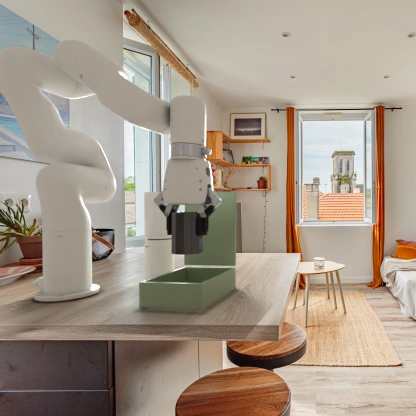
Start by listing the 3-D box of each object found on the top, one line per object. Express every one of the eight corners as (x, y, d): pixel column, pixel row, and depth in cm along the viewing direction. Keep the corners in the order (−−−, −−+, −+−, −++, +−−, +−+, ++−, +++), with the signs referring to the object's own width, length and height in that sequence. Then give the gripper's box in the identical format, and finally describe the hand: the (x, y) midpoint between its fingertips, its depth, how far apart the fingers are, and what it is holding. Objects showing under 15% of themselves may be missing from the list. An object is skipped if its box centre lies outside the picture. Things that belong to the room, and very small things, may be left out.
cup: (165, 254, 70) (165, 212, 70) (181, 250, 76) (181, 211, 76) (193, 255, 69) (193, 212, 69) (207, 251, 75) (207, 212, 75)
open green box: (202, 313, 64) (201, 284, 64) (139, 310, 66) (139, 282, 66) (235, 290, 82) (235, 267, 82) (185, 288, 84) (184, 266, 84)
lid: (235, 192, 82) (236, 192, 82) (184, 192, 84) (186, 193, 84) (234, 265, 81) (236, 265, 82) (184, 264, 83) (185, 264, 84)
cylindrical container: (162, 288, 84) (162, 191, 84) (138, 287, 85) (138, 192, 85) (179, 282, 91) (178, 193, 91) (156, 281, 92) (156, 193, 92)
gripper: (231, 156, 75) (231, 234, 75) (162, 157, 77) (161, 232, 77) (217, 151, 67) (216, 237, 67) (141, 152, 70) (140, 235, 70)
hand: (187, 234), depth 72 cm, fingers closed on cup, 6 cm apart
